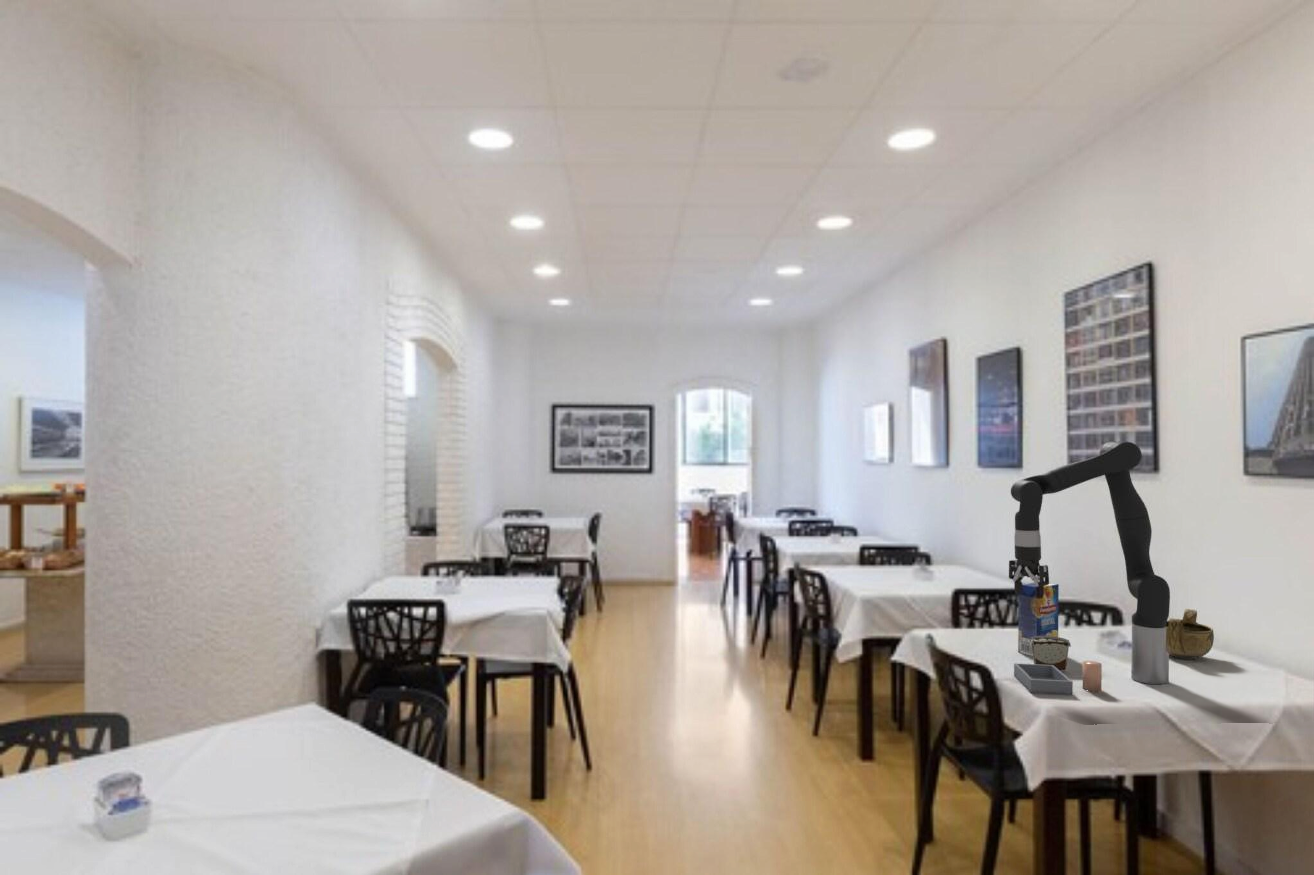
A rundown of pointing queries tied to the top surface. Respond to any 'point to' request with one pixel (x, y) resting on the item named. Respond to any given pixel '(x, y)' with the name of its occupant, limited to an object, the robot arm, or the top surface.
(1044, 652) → the food container
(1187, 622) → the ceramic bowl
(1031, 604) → the juice carton
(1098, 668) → the brown upright block
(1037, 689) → the bin
